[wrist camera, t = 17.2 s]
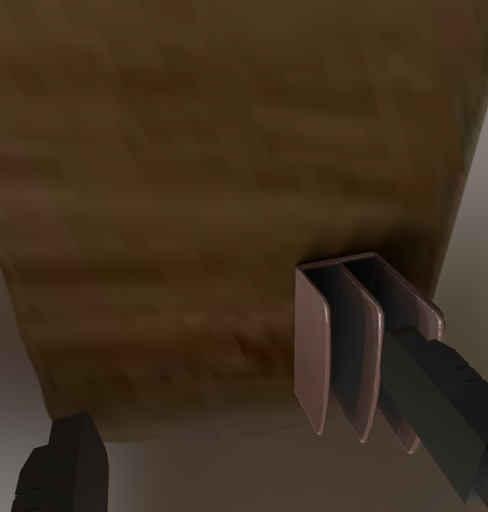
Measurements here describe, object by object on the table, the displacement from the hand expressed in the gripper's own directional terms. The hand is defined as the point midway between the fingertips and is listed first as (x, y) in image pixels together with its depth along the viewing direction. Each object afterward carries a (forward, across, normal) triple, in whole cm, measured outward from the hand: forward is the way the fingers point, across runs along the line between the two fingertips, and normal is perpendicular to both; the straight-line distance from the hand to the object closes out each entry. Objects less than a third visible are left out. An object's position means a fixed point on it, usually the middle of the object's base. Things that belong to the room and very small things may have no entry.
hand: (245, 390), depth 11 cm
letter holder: (+29, -16, +27) cm, 42 cm away
